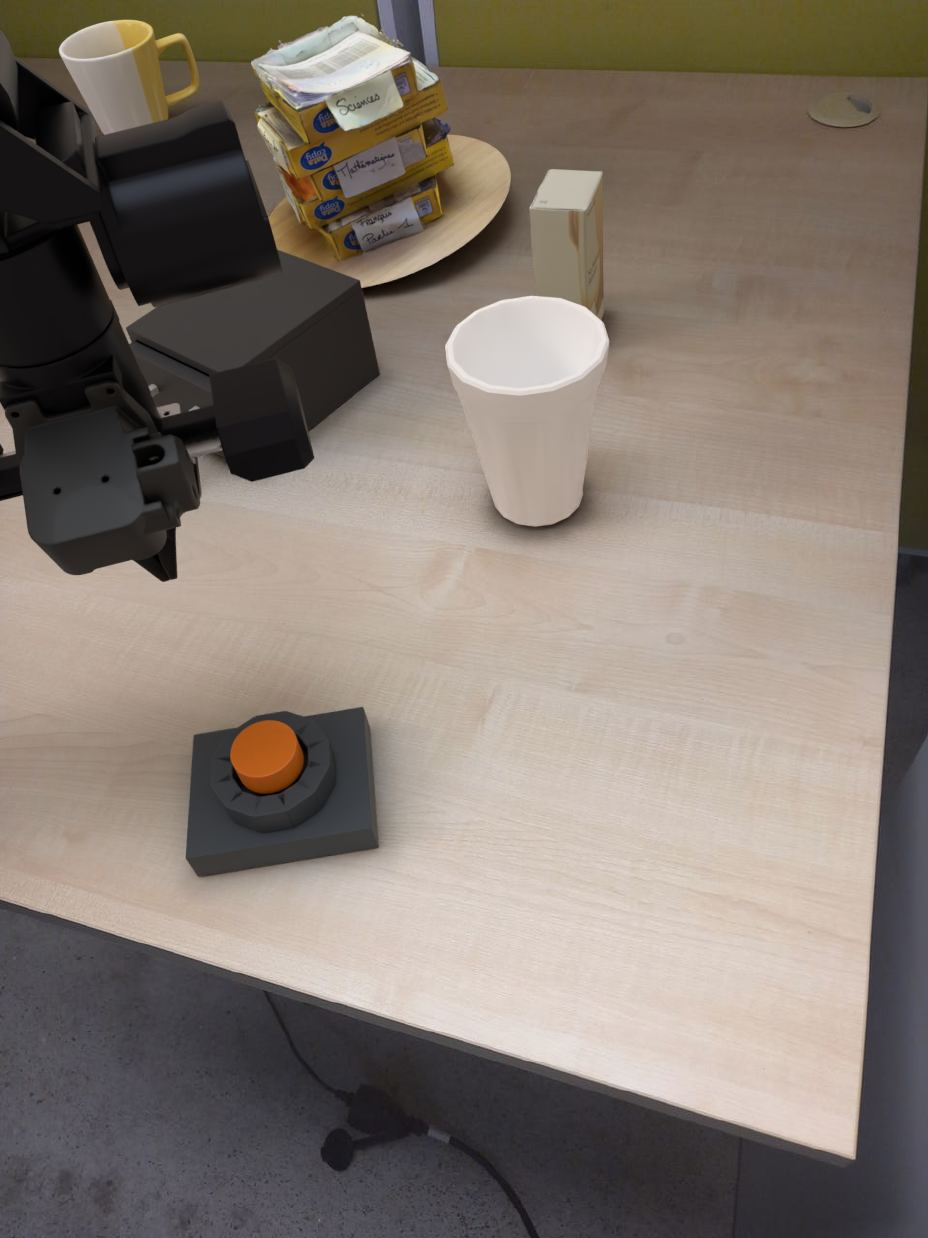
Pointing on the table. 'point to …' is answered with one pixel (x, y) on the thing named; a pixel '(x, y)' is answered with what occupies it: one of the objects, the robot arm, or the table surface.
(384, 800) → the table surface
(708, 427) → the table surface
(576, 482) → the cup
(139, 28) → the mug
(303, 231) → the stack of yellow boxes
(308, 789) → the control block
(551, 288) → the cosmetic box
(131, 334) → the black box
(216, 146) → the robot arm
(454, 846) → the table surface
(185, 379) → the drawer
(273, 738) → the button
